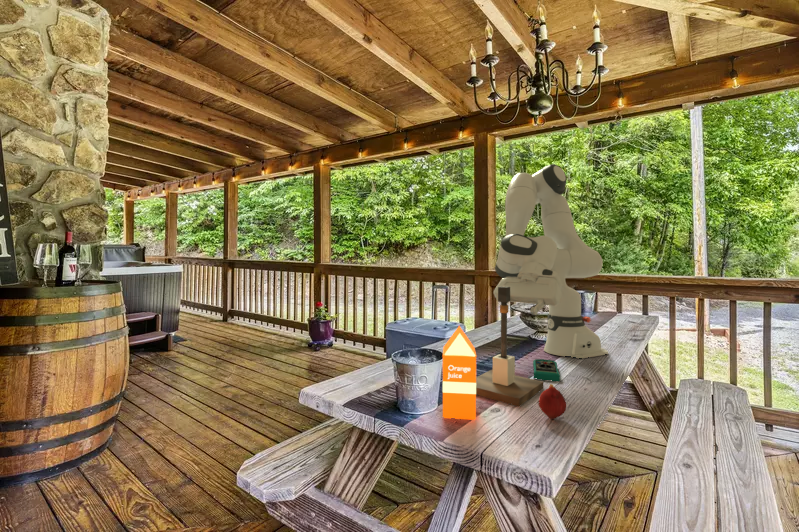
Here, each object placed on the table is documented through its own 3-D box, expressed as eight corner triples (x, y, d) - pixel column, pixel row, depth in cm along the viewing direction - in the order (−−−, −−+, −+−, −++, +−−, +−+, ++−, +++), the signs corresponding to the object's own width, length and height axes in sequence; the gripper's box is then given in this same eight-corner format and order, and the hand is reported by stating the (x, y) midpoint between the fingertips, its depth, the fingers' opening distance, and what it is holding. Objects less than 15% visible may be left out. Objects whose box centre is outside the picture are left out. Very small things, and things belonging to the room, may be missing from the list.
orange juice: (442, 418, 87) (442, 331, 86) (443, 402, 96) (443, 324, 95) (476, 420, 86) (477, 332, 85) (474, 404, 95) (474, 325, 94)
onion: (569, 418, 86) (570, 384, 86) (560, 427, 82) (561, 391, 82) (544, 411, 90) (544, 378, 90) (534, 419, 86) (534, 384, 86)
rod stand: (490, 376, 115) (491, 283, 114) (543, 388, 105) (544, 286, 104) (463, 391, 103) (463, 287, 102) (519, 406, 93) (520, 291, 92)
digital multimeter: (556, 368, 124) (556, 359, 124) (560, 383, 110) (560, 373, 110) (533, 366, 127) (533, 357, 127) (533, 381, 113) (533, 371, 112)
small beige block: (499, 378, 107) (500, 353, 107) (514, 381, 104) (514, 356, 104) (492, 382, 104) (492, 357, 104) (507, 386, 101) (507, 360, 101)
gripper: (499, 270, 126) (483, 302, 119) (562, 271, 112) (548, 308, 105) (506, 282, 129) (491, 314, 122) (567, 286, 115) (554, 322, 108)
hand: (517, 311), depth 113 cm, fingers open, 8 cm apart
